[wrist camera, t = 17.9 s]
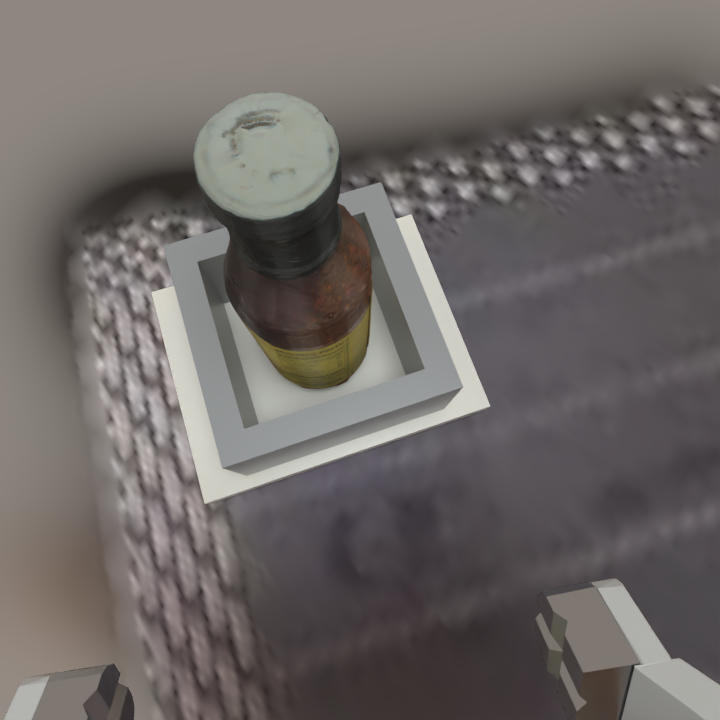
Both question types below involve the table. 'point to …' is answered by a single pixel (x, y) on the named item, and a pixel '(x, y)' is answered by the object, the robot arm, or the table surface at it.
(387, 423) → the box
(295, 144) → the sauce bottle
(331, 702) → the table surface
